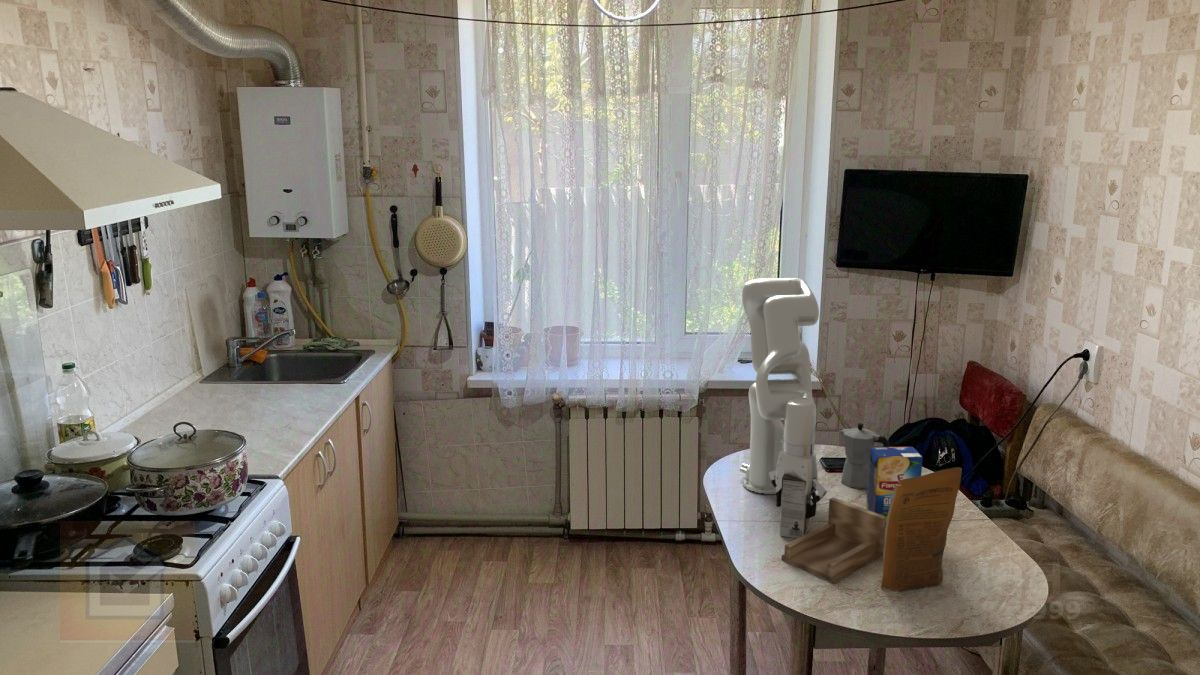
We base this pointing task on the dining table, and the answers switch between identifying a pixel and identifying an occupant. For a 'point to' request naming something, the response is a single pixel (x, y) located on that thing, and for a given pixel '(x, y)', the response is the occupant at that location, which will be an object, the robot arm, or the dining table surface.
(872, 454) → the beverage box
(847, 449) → the coffeepot
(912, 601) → the dining table surface
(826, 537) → the wooden tray
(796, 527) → the coffee box
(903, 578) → the pancake mix bag
